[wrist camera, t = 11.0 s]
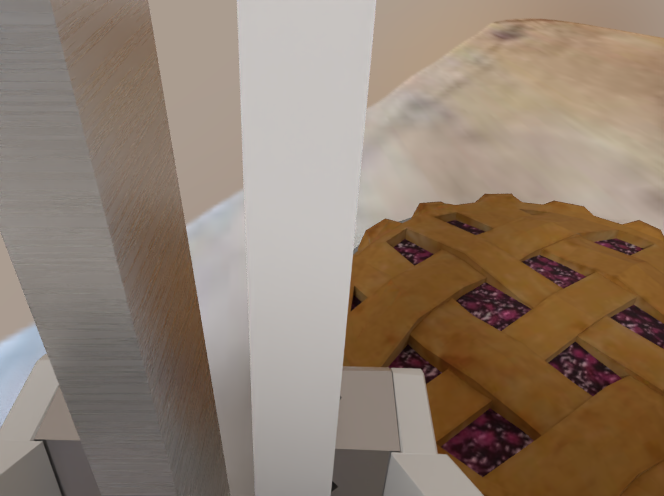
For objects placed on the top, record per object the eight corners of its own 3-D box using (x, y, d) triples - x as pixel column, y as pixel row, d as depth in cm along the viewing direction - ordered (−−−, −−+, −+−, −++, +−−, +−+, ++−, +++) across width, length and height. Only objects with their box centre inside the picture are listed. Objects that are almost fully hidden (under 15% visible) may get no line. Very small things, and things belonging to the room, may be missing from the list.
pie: (869, 403, 28) (937, 324, 26) (703, 844, 16) (801, 788, 13) (483, 210, 41) (499, 142, 38) (212, 368, 28) (205, 285, 25)
